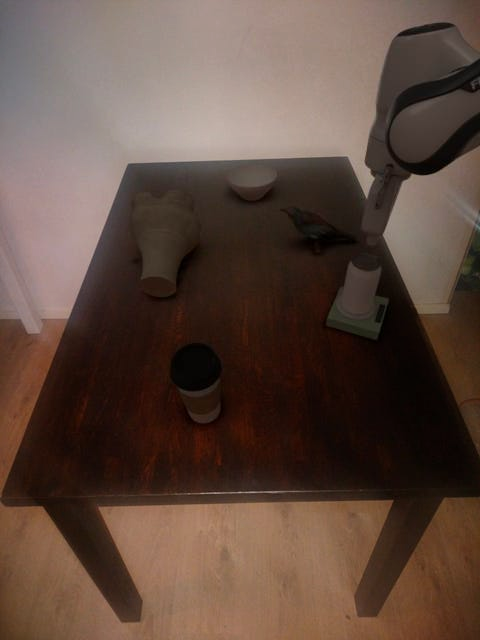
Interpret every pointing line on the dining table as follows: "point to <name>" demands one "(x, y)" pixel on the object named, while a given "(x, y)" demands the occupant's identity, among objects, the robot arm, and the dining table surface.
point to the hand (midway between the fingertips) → (377, 229)
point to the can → (361, 283)
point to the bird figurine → (315, 227)
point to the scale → (358, 317)
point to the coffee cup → (198, 380)
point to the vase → (163, 237)
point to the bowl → (252, 180)
